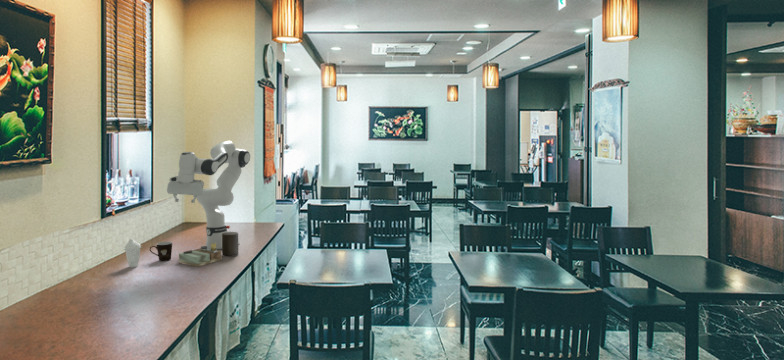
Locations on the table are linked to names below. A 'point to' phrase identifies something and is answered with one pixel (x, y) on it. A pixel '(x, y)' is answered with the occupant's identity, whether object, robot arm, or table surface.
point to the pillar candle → (229, 244)
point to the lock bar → (213, 249)
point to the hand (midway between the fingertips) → (184, 202)
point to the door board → (199, 257)
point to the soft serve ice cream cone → (132, 253)
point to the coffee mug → (163, 250)
